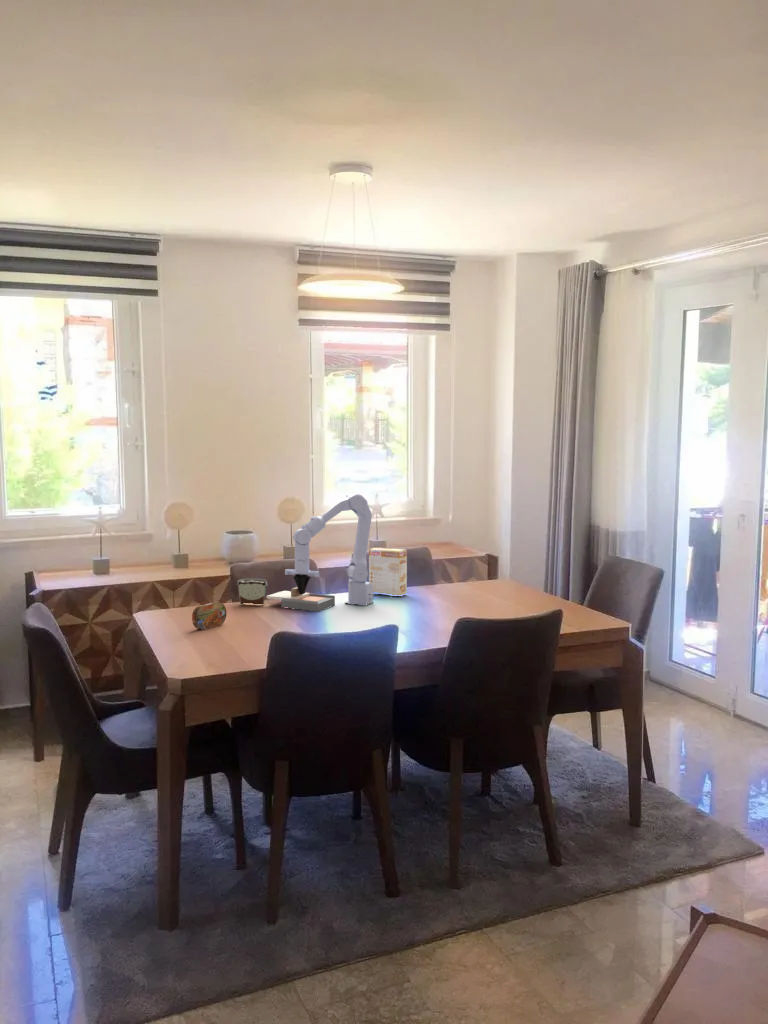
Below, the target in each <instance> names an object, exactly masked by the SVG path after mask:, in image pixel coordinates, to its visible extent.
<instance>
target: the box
mask: <svg viewBox="0 0 768 1024" xmlns="http://www.w3.org/2000/svg"><path fill="white" fill-rule="evenodd" d="M309 593H310V592H309ZM335 597H336V596H335V595H332V594H331V595H330V594H320V593H310V596H307V597H304V598H301V599H286V598H281V600H280V601H281V608H282V607H288V608H294V609H293V610H295V609H302V610H301V611H305V610H309V611H308V612H315V611H318V612H321V611H323V609H324V610H325V608H326V609H329V608H331V607H330V606H332V607H333V605H334V606H335V605H336V602H335V599H336V598H335ZM328 607H329V608H328ZM320 610H321V611H320Z"/></svg>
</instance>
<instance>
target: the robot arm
mask: <svg viewBox="0 0 768 1024" xmlns="http://www.w3.org/2000/svg"><path fill="white" fill-rule="evenodd" d="M345 511H352V512H353V513H354V514H355V515H356V516H357V518H358V520H357V526H356V534H355V540H354V541H355V543H354V547H353V548H354V550H353V553H352V554H353V556H352V557H351V560H350V563H349V565H348V566H347V569H346V573H347V575H348V577H349V578H348V583H347V584H348V585H347V588H348V589H347V590H348V594H347V595H348V597H347V598H348V600H347V601H345V602H344V603H348V604H347V605H354V604H359V605H358V606H367V605H366V604H368V605H370V604H372V603H371V602H373V601H374V599H373V598H374V594H373V586H372V583H370V582H369V581H367V578H368V577H369V570H368V568H367V566H368V565H367V563H368V562H367V552H368V551H367V550H368V547H369V546H368V544H369V539H370V538H369V537H370V531H371V525H372V517H373V514H372V511H371V508H370V507H369V504H368V500H367V499H366V498H365V497H364V496H363V495H362V494H357V493H355V492H350V493H347V494H346V495H345V496H343V497H341V498H340V499H339V500H338V501H337V502H336V503H334V505H332V506H331V507H330V508H329V509H327V510H326V511H325V512H324V513H323V514H321V516H320V515H318V516H317V515H316V516H311V517H310V520H309V521H308V522H306V524H304V525H301V526H300V527H301V528H298V529H297V530H295V531H294V533H293V535H292V538H293V540H294V569H291V568H287V569H284V575H286V576H287V575H291V576H293V579H294V581H295V583H296V587H298V590H299V594H305V593H306V590H307V586H308V583H309V581H310V579H311V577H314V578H318V577H320V571H316V570H311V569H310V542H311V540H312V538H314V537H315V536H316V535H317V534H319V533H320V532H321V531H323V529H325V528H326V523H328V522H329V521H330V520H331V519H333V518H335V517H336V516H338V515H339V514H340V513H342V512H345ZM369 603H370V604H369ZM373 603H374V602H373Z"/></svg>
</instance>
